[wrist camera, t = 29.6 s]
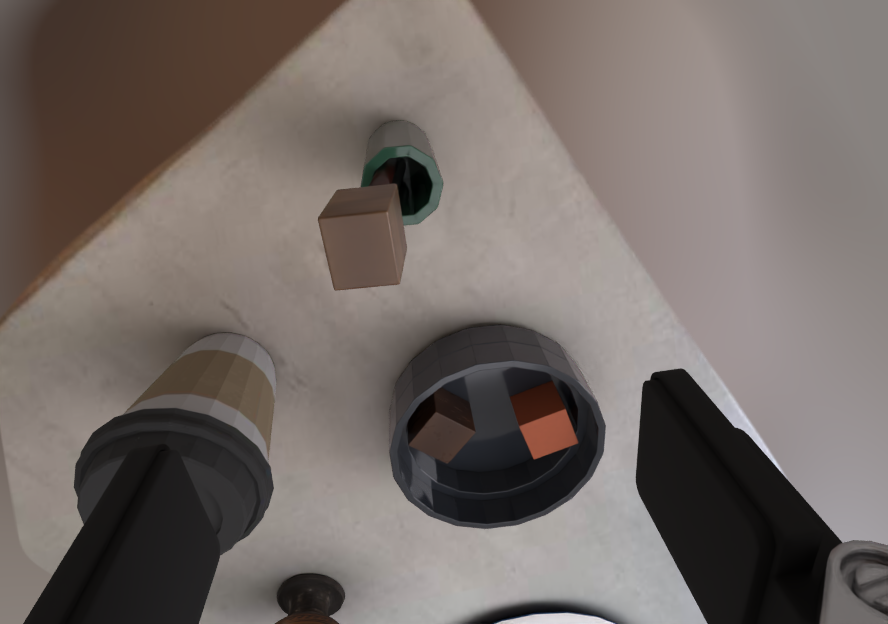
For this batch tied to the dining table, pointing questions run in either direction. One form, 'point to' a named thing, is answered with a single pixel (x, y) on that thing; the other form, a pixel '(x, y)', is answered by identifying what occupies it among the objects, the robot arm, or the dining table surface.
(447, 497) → the bowl
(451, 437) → the walnut block
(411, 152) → the holder
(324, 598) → the vase
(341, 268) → the wooden cube mallet
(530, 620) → the plate
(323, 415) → the dining table surface
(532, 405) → the terracotta block
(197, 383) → the coffee cup
